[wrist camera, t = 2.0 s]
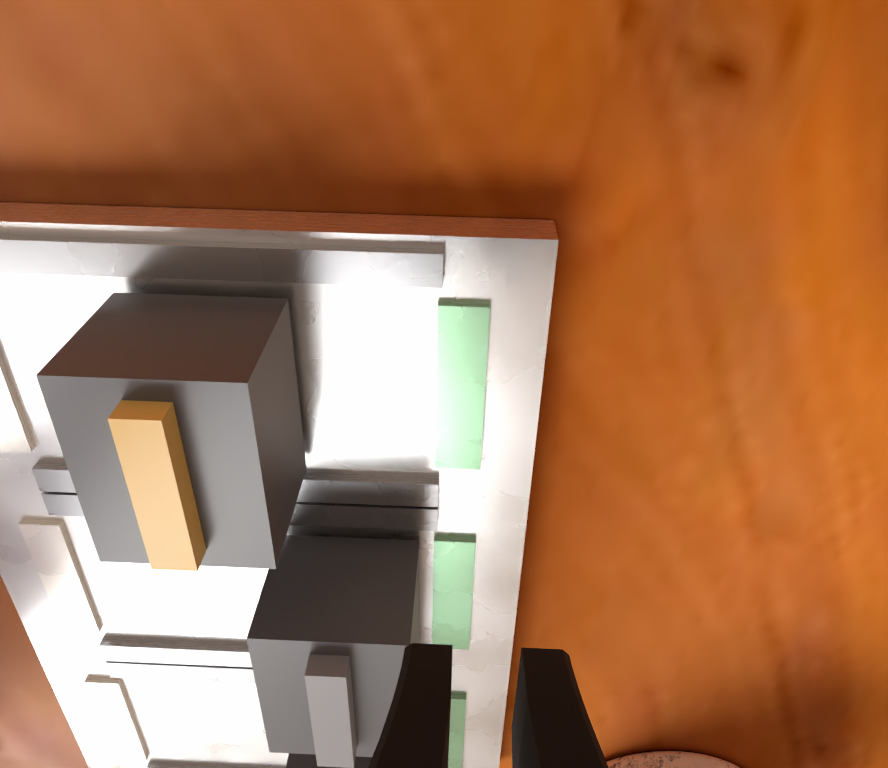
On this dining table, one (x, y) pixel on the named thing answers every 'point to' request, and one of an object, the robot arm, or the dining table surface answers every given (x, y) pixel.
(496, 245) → the breaker panel
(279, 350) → the block
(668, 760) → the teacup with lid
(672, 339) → the dining table surface
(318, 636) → the breaker
